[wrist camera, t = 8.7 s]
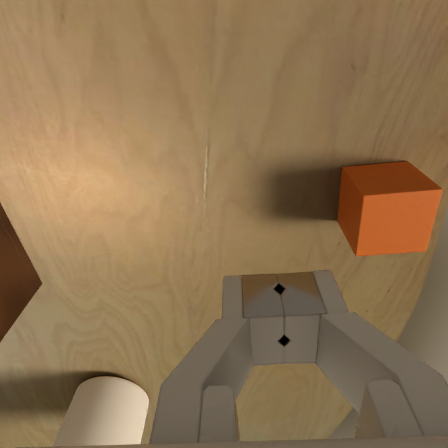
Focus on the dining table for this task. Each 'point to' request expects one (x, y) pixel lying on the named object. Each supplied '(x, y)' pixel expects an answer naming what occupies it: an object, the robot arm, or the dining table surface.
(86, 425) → the beverage can
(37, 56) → the dining table surface
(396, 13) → the dining table surface
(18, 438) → the dining table surface
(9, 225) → the cabinet
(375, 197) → the block
